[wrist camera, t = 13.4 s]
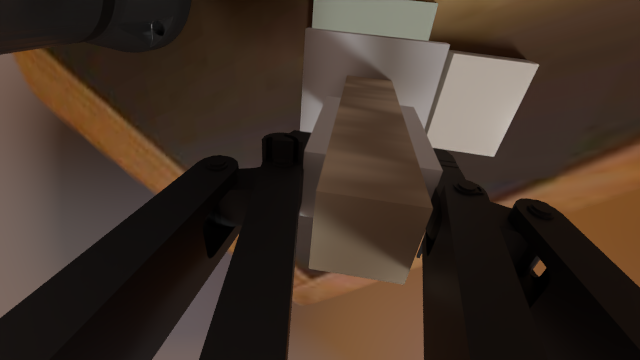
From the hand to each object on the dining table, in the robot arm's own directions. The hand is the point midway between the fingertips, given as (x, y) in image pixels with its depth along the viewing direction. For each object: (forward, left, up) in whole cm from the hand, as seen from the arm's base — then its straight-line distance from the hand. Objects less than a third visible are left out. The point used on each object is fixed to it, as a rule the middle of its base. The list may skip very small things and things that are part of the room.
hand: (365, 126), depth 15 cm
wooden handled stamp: (0, 0, -6) cm, 6 cm away
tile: (+16, -3, -18) cm, 24 cm away
